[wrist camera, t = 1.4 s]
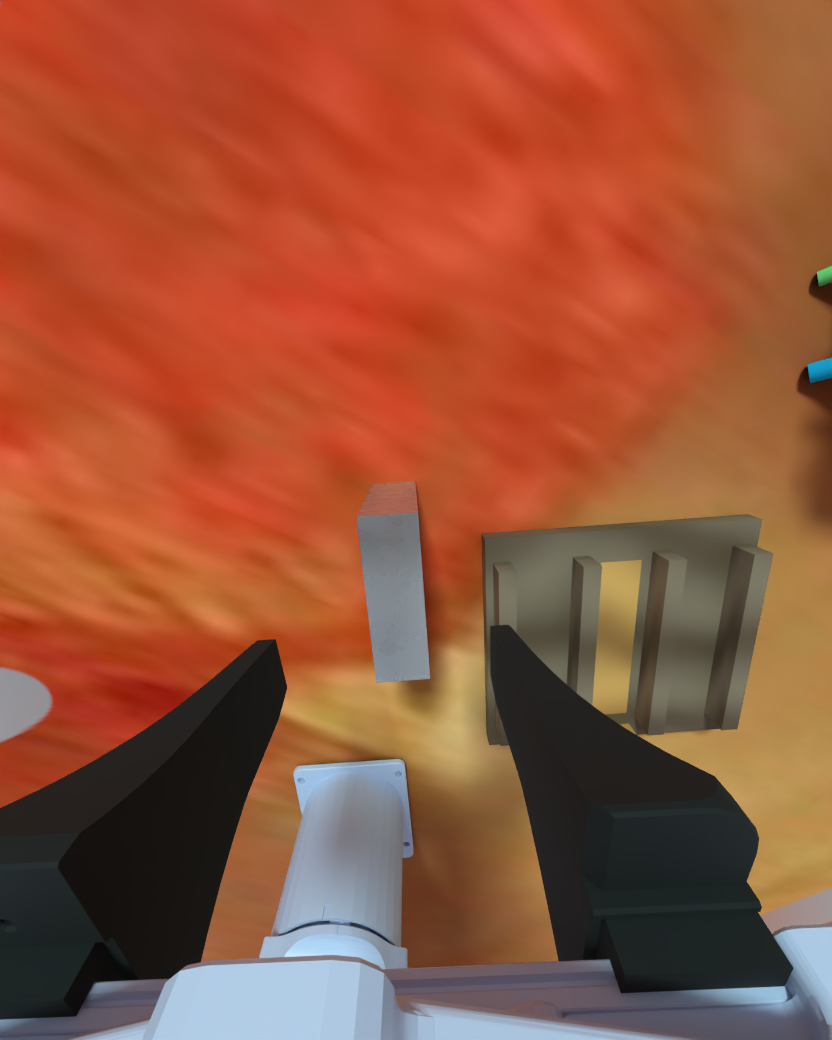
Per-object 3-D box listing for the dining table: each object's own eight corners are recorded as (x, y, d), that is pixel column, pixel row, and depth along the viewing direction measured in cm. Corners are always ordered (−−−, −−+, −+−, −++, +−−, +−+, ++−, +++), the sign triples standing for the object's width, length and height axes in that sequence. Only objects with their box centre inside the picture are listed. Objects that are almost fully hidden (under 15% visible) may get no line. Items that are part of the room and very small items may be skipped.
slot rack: (711, 717, 27) (746, 753, 24) (486, 733, 27) (495, 771, 24) (747, 514, 23) (795, 529, 20) (481, 533, 23) (491, 551, 20)
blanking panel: (424, 604, 24) (430, 678, 18) (385, 607, 24) (376, 682, 18) (415, 480, 22) (418, 512, 15) (372, 484, 22) (356, 516, 15)
